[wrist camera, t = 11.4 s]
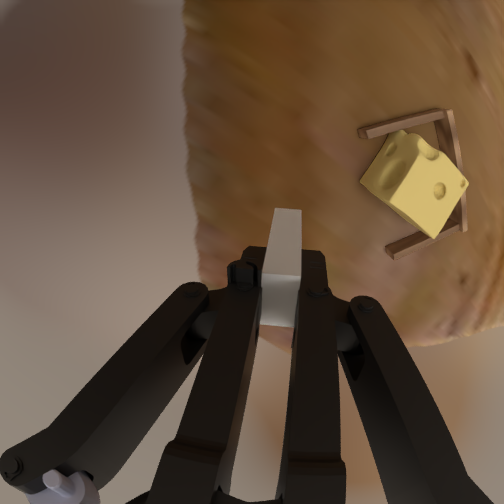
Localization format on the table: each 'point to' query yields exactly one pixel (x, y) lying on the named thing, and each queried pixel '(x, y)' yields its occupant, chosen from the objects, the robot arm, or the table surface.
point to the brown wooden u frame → (447, 146)
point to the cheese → (415, 181)
